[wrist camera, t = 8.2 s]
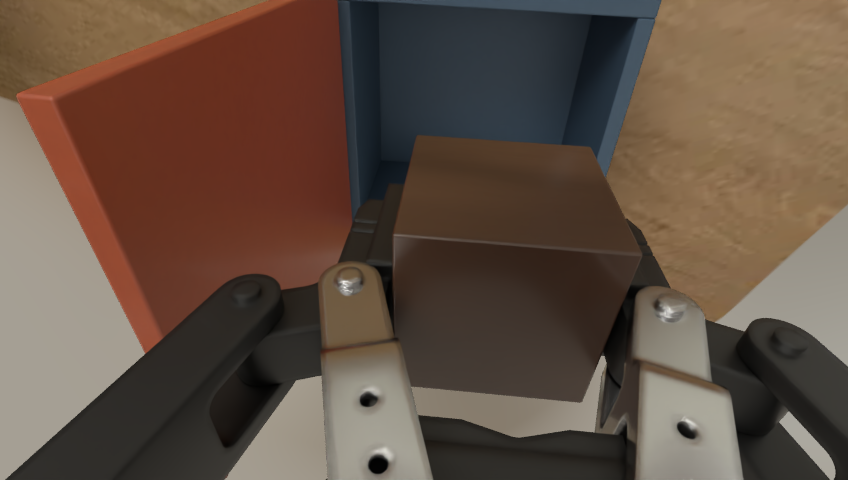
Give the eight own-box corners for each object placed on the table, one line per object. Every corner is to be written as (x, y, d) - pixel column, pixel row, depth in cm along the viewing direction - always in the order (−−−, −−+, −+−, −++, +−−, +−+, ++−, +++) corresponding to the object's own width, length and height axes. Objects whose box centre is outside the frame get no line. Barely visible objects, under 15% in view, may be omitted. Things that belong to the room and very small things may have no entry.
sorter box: (612, -26, 27) (662, -1, 20) (561, 177, 35) (584, 247, 28) (366, -40, 27) (330, -20, 20) (373, 163, 35) (348, 228, 28)
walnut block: (412, 266, 14) (393, 385, 11) (416, 133, 12) (391, 234, 8) (554, 278, 14) (582, 404, 11) (591, 145, 12) (645, 254, 8)
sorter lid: (52, 97, 8) (11, 92, 8) (226, 480, 16) (205, 475, 16) (336, -18, 20) (319, -20, 20) (353, 233, 28) (340, 231, 28)
